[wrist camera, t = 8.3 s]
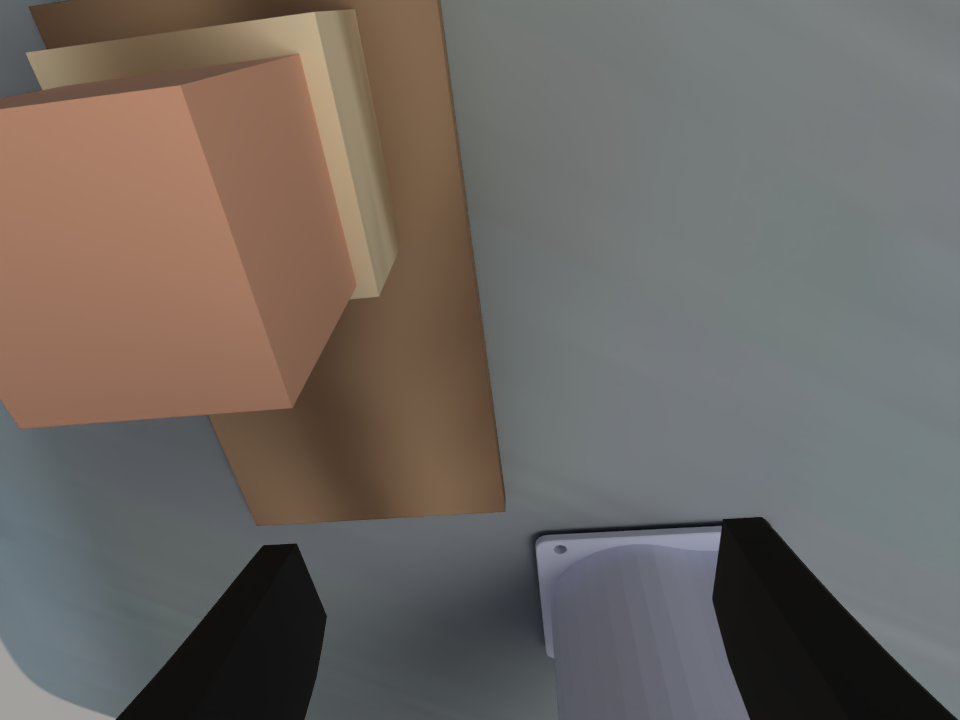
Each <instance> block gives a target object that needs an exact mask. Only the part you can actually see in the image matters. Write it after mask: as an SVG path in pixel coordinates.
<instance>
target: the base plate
mask: <svg viewBox="0 0 960 720" xmlns="http://www.w3.org/2000/svg"><path fill="white" fill-rule="evenodd" d="M29 9H30V11H31V14H32V16H33V18H34V20H35V23H36V25H37V27H38V30H39V32H40V34H41V36H42V39H43V41H44V43H45V45H46V48H47V50H48V49H55V48H62V47H69V46H76V45H83V44H90V43H97V42H105V41H112V40H119V39H126V38H133V37H140V36H147V35H154V34H161V33H168V32H175V31H182V30H189V29H197V28H204V27H211V26H218V25H225V24H232V23H239V22H246V21H253V20H260V19H267V18H274V17H281V16H288V15H296V14H303V13H310V12H319V11H335V10H350V9H355V13H356V18H357V23H358V28H359V33H360V38H361V44H362V49H363V54H364V59H365V64H366V69H367V74H368V79H369V84H370V89H371V94H372V100H373V105H374V110H375V115H376V120H377V125H378V130H379V135H380V140H381V145H382V151H383V156H384V161H385V166H386V171H387V176H388V181H389V186H390V191H391V196H392V201H393V207H394V212H395V217H396V222H397V227H398V232H399V237H400V242H401V247H400V249H399V252H398V254H397V256H396V258H395V261H394V263H393V265H392V268H391V270H390V272H389V275H388V277H387V279H386V282H385V284H384V286H383V289H382V291H381V293H380V296H379V297H370V298H359V299H349V301H348V303H347V305H346V307H345V309H344V311H343V313H342V315H341V317H340V319H339V320H338V322H337V324H336V326H335V328H334V330H333V332H332V334H331V336H330V338H329V339H328V341H327V343H326V345H325V347H324V349H323V351H322V353H321V355H320V357H319V358H318V360H317V362H316V364H315V366H314V368H313V370H312V372H311V374H310V376H309V377H308V379H307V381H306V383H305V385H304V387H303V389H302V391H301V393H300V395H299V396H298V398H297V400H296V402H295V404H294V406H293V408H287V409H274V410H261V411H248V412H235V413H222V414H209V415H208V416H209V418H210V421H211V423H212V425H213V428H214V430H215V432H216V434H217V437H218V439H219V441H220V443H221V446H222V448H223V450H224V453H225V455H226V457H227V459H228V462H229V464H230V466H231V468H232V471H233V473H234V475H235V478H236V480H237V482H238V484H239V487H240V489H241V491H242V493H243V496H244V498H245V500H246V503H247V505H248V507H249V509H250V512H251V514H252V516H253V519H254V521H255V523H256V525H257V526H264V525H281V524H299V523H317V522H334V521H352V520H370V519H387V518H405V517H423V516H440V515H458V514H476V513H494V512H505V490H504V482H503V475H502V467H501V460H500V452H499V444H498V437H497V429H496V422H495V414H494V406H493V399H492V391H491V384H490V376H489V368H488V361H487V353H486V346H485V338H484V330H483V323H482V315H481V308H480V300H479V292H478V285H477V277H476V270H475V262H474V254H473V247H472V239H471V231H470V224H469V216H468V209H467V201H466V193H465V186H464V178H463V171H462V163H461V155H460V148H459V140H458V133H457V125H456V117H455V110H454V102H453V95H452V87H451V79H450V72H449V64H448V57H447V49H446V41H445V34H444V26H443V19H442V11H441V3H440V0H71V1H64V2H57V3H51V4H44V5H37V6H30V7H29Z"/></svg>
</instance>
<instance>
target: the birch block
mask: <svg viewBox="0 0 960 720" xmlns="http://www.w3.org/2000/svg"><path fill="white" fill-rule="evenodd" d="M295 54H300V57H301V62H302V66H303V70H304V74H305V78H306V82H307V86H308V90H309V94H310V98H311V102H312V106H313V110H314V114H315V118H316V122H317V126H318V130H319V135H320V139H321V143H322V147H323V151H324V155H325V159H326V163H327V167H328V171H329V175H330V179H331V183H332V187H333V191H334V195H335V199H336V204H337V208H338V212H339V216H340V220H341V224H342V228H343V232H344V236H345V240H346V244H347V248H348V252H349V256H350V260H351V264H352V268H353V272H354V277H355V281H356V285H357V286H356V288H355V290H354V292H353V294H352V296H351V298H350V299H359V298H370V297H379V296H380V293H381V291H382V289H383V286H384V284H385V282H386V279H387V277H388V275H389V272H390V270H391V268H392V265H393V263H394V261H395V258H396V256H397V254H398V252H399V249H400V247H401V242H400V237H399V232H398V227H397V222H396V217H395V212H394V207H393V201H392V196H391V191H390V186H389V181H388V176H387V171H386V166H385V161H384V156H383V151H382V145H381V140H380V135H379V130H378V125H377V120H376V115H375V110H374V105H373V100H372V94H371V89H370V84H369V79H368V74H367V69H366V64H365V59H364V54H363V49H362V44H361V38H360V33H359V28H358V23H357V18H356V13H355V9H350V10H335V11H319V12H310V13H303V14H296V15H288V16H281V17H274V18H267V19H260V20H253V21H246V22H239V23H232V24H225V25H218V26H211V27H204V28H197V29H189V30H182V31H175V32H168V33H161V34H154V35H147V36H140V37H133V38H126V39H119V40H112V41H105V42H97V43H90V44H83V45H76V46H69V47H62V48H55V49H48V50H41V51H34V52H27V53H26V55H27V58H28V60H29V62H30V64H31V66H32V68H33V71H34V73H35V75H36V77H37V79H38V82H39V84H40V86H41V88H42V90H45V89H50V88H56V87H61V86H66V85H73V84H81V83H88V82H96V81H103V80H110V79H118V78H125V77H132V76H140V75H147V74H155V73H162V72H169V71H177V70H184V69H191V68H199V67H206V66H213V65H221V64H228V63H236V62H243V61H250V60H258V59H265V58H272V57H280V56H287V55H295Z"/></svg>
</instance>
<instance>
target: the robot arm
mask: <svg viewBox="0 0 960 720" xmlns="http://www.w3.org/2000/svg"><path fill="white" fill-rule="evenodd" d="M559 545H563V546H559ZM535 547H536V558H537V568H538V578H539V587H540V597H541V607H542V617H543V627H544V636H545V646H546V653H547V655H548V656H549V657H551V658H553V659H554V662H555V676H556V690H557V704H558V718H559V720H958V719H957V718H956V717H955V716H953V715H952V714H951V713H950V712H949V711H948V710H947V709H946V708H945V707H944V706H943V705H942V704H941V703H940V702H938V701H937V700H936V699H935V698H934V697H933V696H932V695H931V694H930V693H929V692H928V691H927V690H926V689H925V688H924V687H923V686H922V685H921V684H920V683H918V682H917V681H916V680H915V679H914V678H913V677H912V676H911V675H910V674H909V673H908V672H907V671H906V670H905V669H904V668H903V667H902V666H901V665H900V664H899V663H898V662H897V661H896V660H895V659H894V658H893V657H892V656H891V655H890V654H889V653H888V652H887V651H886V650H885V649H884V648H883V647H882V646H881V645H880V644H879V643H878V642H877V641H876V640H875V639H874V638H873V637H872V636H871V635H870V634H869V633H868V632H867V631H866V630H865V629H864V628H863V627H862V625H861V624H860V623H859V622H858V621H857V620H856V619H855V618H854V617H853V616H852V615H851V614H850V613H849V612H848V611H847V610H846V609H845V608H844V607H843V606H842V605H841V604H840V603H839V601H838V600H837V599H836V598H835V597H834V596H833V595H832V594H831V593H830V592H829V591H828V590H827V589H826V587H825V586H824V585H823V584H822V583H821V582H820V581H819V580H818V579H817V578H816V576H815V575H814V574H813V573H812V572H811V571H810V570H809V569H808V568H807V566H806V565H805V564H804V563H803V562H802V561H801V560H800V559H799V557H798V556H797V555H796V554H795V553H794V552H793V551H792V549H791V548H790V547H789V546H788V545H787V544H786V543H785V541H784V540H783V539H782V538H781V537H780V536H779V535H778V533H777V532H776V531H775V529H774V528H773V526H771V525H770V524H769V523H768V522H767V521H766V520H765V519H763V518H762V517H755V518H737V519H723V522H722V526H709V527H690V528H671V529H652V530H633V531H614V532H595V533H576V534H557V535H544V536H541V537H539V538H538V539H537V540H536V544H535ZM326 618H327V615H326V613H325V611H324V608H323V606H322V603H321V601H320V599H319V596H318V594H317V591H316V589H315V586H314V584H313V582H312V579H311V577H310V574H309V572H308V570H307V567H306V565H305V562H304V560H303V557H302V555H301V553H300V550H299V548H298V545H297V544H280V545H263V546H262V548H261V549H260V550H259V551H258V552H257V553H256V555H255V556H254V557H253V558H252V559H251V561H250V562H249V563H248V564H247V565H246V567H245V568H244V569H243V570H242V572H241V573H240V574H239V575H238V577H237V578H236V579H235V580H234V582H233V583H232V584H231V585H230V587H229V588H228V589H227V590H226V591H225V593H224V594H223V595H222V596H221V598H220V599H219V600H218V601H217V603H216V604H215V605H214V606H213V607H212V609H211V610H210V611H209V612H208V614H207V615H206V616H205V617H204V619H203V620H202V621H201V622H200V623H199V625H198V626H197V627H196V628H195V629H194V631H193V632H192V633H191V634H190V635H189V637H188V638H187V639H186V640H185V641H184V642H183V644H182V645H181V646H180V647H179V648H178V650H177V651H176V652H175V653H174V654H173V656H172V657H171V658H170V659H169V660H168V662H167V663H166V664H165V665H164V666H163V667H162V669H161V670H160V671H159V672H158V673H157V674H156V675H155V677H154V678H153V679H152V680H151V681H150V682H149V683H148V684H147V686H146V687H145V688H144V689H143V690H142V691H141V692H140V693H139V694H138V695H137V697H136V698H135V699H134V700H133V701H132V702H131V703H130V704H129V705H128V707H127V708H126V709H125V710H124V711H123V712H122V713H121V714H120V715H119V717H118V718H117V719H116V720H304V719H305V716H306V712H307V709H308V705H309V702H310V698H311V695H312V691H313V688H314V684H315V680H316V677H317V671H318V666H319V660H320V655H321V650H322V643H323V637H324V631H325V625H326Z"/></svg>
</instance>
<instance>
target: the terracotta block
mask: <svg viewBox="0 0 960 720" xmlns="http://www.w3.org/2000/svg"><path fill="white" fill-rule="evenodd" d="M356 286H357V285H356V281H355V277H354V272H353V268H352V264H351V260H350V256H349V252H348V248H347V244H346V240H345V236H344V232H343V228H342V224H341V220H340V216H339V212H338V208H337V204H336V199H335V195H334V191H333V187H332V183H331V179H330V175H329V171H328V167H327V163H326V159H325V155H324V151H323V147H322V143H321V139H320V135H319V130H318V126H317V122H316V118H315V114H314V110H313V106H312V102H311V98H310V94H309V90H308V86H307V82H306V78H305V74H304V70H303V66H302V62H301V57H300V54H295V55H287V56H280V57H272V58H265V59H258V60H250V61H243V62H236V63H228V64H221V65H213V66H206V67H199V68H191V69H184V70H177V71H169V72H162V73H155V74H147V75H140V76H132V77H125V78H118V79H110V80H103V81H96V82H88V83H81V84H73V85H66V86H61V87H56V88H50V89H45V90H40V91H35V92H30V93H25V94H20V95H15V96H10V97H4V98H0V399H1V401H2V402H3V404H4V405H5V407H6V408H7V410H8V411H9V413H10V415H11V416H12V418H13V419H14V421H15V422H16V424H17V425H18V427H19V428H20V429H26V428H39V427H52V426H65V425H78V424H91V423H104V422H117V421H131V420H144V419H157V418H170V417H183V416H196V415H209V414H222V413H235V412H248V411H261V410H274V409H287V408H293V406H294V404H295V402H296V400H297V398H298V396H299V395H300V393H301V391H302V389H303V387H304V385H305V383H306V381H307V379H308V377H309V376H310V374H311V372H312V370H313V368H314V366H315V364H316V362H317V360H318V358H319V357H320V355H321V353H322V351H323V349H324V347H325V345H326V343H327V341H328V339H329V338H330V336H331V334H332V332H333V330H334V328H335V326H336V324H337V322H338V320H339V319H340V317H341V315H342V313H343V311H344V309H345V307H346V305H347V303H348V301H349V299H350V298H351V296H352V294H353V292H354V290H355V288H356Z"/></svg>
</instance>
